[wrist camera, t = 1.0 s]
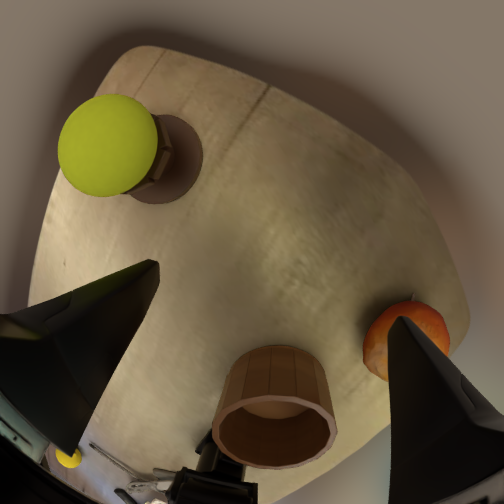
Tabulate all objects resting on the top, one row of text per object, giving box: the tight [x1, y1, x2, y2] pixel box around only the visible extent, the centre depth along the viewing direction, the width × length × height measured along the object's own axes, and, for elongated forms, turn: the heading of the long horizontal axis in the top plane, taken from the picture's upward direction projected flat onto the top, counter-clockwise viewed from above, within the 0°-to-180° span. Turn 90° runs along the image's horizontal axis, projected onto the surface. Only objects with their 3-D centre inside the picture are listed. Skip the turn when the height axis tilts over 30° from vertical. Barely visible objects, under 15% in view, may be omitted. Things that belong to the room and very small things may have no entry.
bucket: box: [212, 345, 338, 470], centre depth 22 cm, size 10×10×8 cm
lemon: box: [56, 448, 82, 468], centre depth 32 cm, size 7×5×5 cm
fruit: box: [363, 293, 450, 382], centre depth 21 cm, size 8×8×8 cm
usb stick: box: [114, 489, 137, 504], centre depth 36 cm, size 10×3×2 cm, turn 15°
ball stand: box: [121, 114, 203, 204], centre depth 20 cm, size 8×8×6 cm
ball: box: [58, 94, 158, 197], centre depth 15 cm, size 7×7×7 cm
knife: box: [126, 480, 173, 494], centre depth 30 cm, size 2×18×3 cm
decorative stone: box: [153, 469, 176, 481], centre depth 31 cm, size 11×1×5 cm
